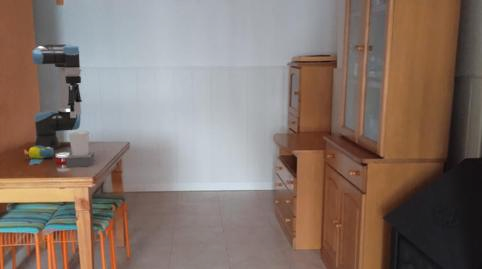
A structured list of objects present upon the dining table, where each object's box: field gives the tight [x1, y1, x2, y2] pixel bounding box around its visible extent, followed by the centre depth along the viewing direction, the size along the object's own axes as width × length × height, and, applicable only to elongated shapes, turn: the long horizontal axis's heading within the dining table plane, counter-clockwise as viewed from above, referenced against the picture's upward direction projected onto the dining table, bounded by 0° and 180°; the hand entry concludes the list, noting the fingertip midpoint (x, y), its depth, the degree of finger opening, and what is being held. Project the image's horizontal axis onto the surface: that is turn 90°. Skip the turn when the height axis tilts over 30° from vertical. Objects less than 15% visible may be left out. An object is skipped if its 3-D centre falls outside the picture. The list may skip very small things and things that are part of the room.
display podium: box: [65, 151, 95, 168], centre depth 238 cm, size 12×12×5 cm
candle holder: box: [68, 130, 90, 157], centre depth 237 cm, size 10×10×12 cm
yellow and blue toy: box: [23, 144, 55, 166], centre depth 252 cm, size 28×9×15 cm
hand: (75, 116), depth 238 cm, fingers open, 13 cm apart
